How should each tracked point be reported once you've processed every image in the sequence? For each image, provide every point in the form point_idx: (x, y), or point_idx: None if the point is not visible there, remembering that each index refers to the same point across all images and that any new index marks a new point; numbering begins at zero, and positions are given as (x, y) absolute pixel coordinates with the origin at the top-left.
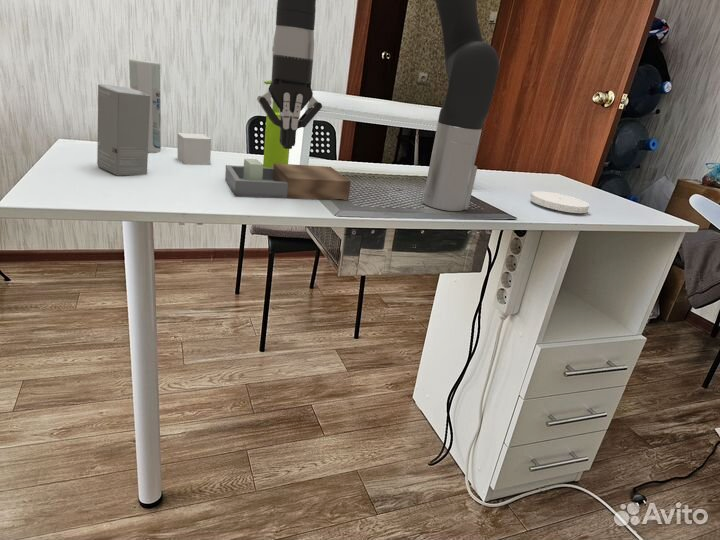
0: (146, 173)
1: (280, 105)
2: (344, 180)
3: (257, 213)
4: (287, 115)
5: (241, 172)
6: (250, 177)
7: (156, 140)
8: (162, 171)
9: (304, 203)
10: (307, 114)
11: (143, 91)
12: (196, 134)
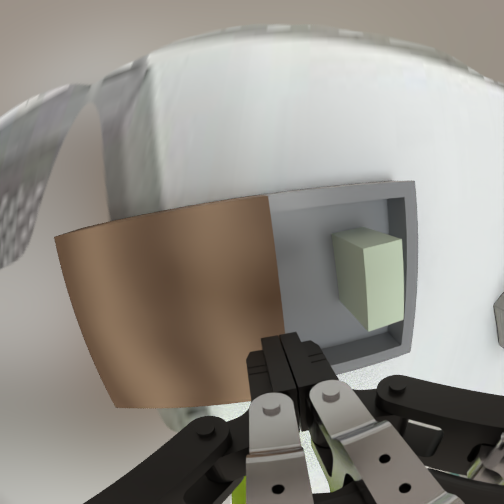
0: (495, 304)
1: (435, 477)
2: (70, 240)
3: (341, 54)
4: (358, 435)
5: (371, 345)
6: (377, 232)
7: None
8: (473, 336)
9: (212, 154)
10: (173, 493)
11: None
12: None
